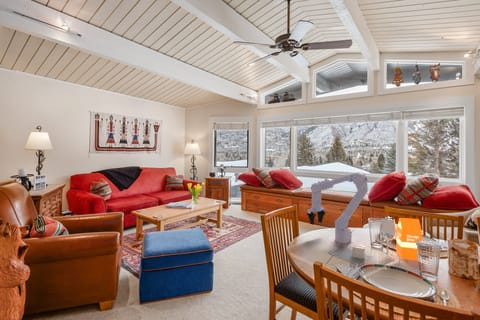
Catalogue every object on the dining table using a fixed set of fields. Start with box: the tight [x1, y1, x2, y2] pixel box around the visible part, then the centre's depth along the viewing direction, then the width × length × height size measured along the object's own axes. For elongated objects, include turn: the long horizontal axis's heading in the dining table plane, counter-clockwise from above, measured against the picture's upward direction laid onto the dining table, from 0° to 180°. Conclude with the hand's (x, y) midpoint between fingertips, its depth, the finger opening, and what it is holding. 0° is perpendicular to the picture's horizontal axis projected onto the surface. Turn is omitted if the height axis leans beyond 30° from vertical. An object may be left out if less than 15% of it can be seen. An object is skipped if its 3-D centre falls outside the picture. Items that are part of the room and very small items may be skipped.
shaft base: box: [325, 246, 374, 265], centre depth 123 cm, size 16×16×4 cm
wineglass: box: [378, 216, 397, 258], centre depth 124 cm, size 8×8×20 cm
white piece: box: [351, 243, 366, 259], centre depth 121 cm, size 5×5×5 cm
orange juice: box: [396, 217, 423, 261], centre depth 124 cm, size 8×9×20 cm
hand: (316, 223), depth 151 cm, fingers open, 7 cm apart
